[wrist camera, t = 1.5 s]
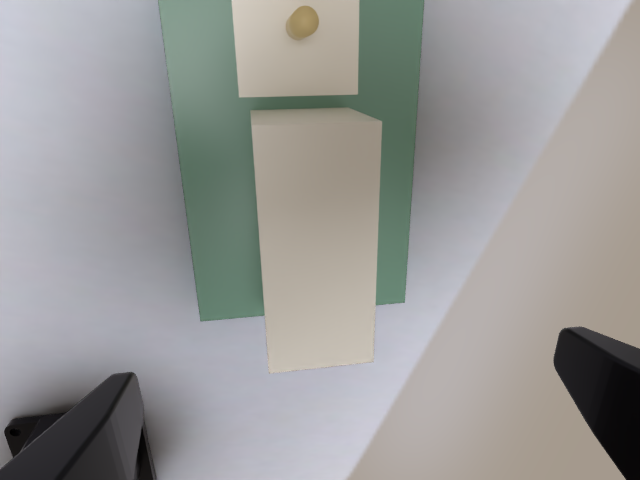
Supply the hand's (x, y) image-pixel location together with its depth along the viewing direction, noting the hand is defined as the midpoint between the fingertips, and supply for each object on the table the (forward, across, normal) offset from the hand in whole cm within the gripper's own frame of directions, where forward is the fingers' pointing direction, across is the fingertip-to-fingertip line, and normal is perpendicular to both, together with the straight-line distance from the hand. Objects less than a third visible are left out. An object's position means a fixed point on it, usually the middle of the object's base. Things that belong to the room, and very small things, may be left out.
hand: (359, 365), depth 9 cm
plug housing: (+11, 0, 0) cm, 11 cm away
